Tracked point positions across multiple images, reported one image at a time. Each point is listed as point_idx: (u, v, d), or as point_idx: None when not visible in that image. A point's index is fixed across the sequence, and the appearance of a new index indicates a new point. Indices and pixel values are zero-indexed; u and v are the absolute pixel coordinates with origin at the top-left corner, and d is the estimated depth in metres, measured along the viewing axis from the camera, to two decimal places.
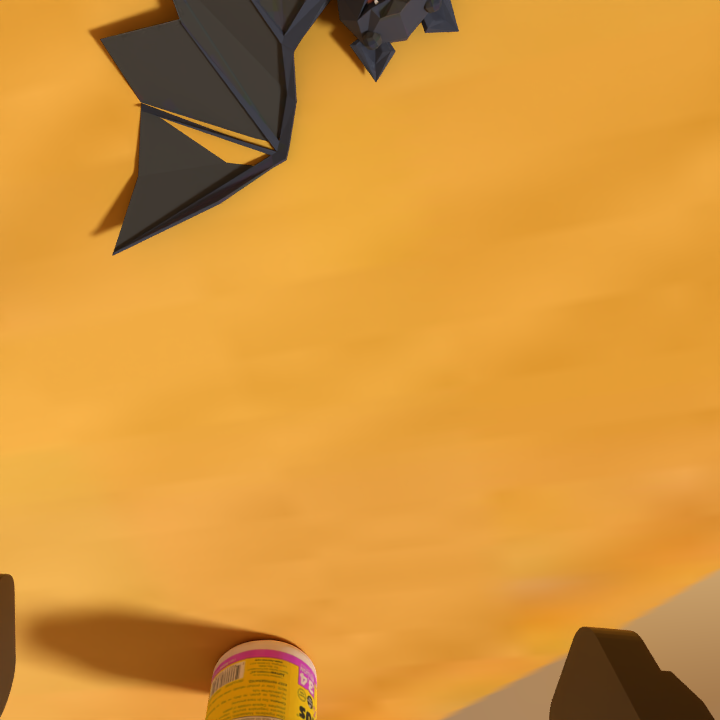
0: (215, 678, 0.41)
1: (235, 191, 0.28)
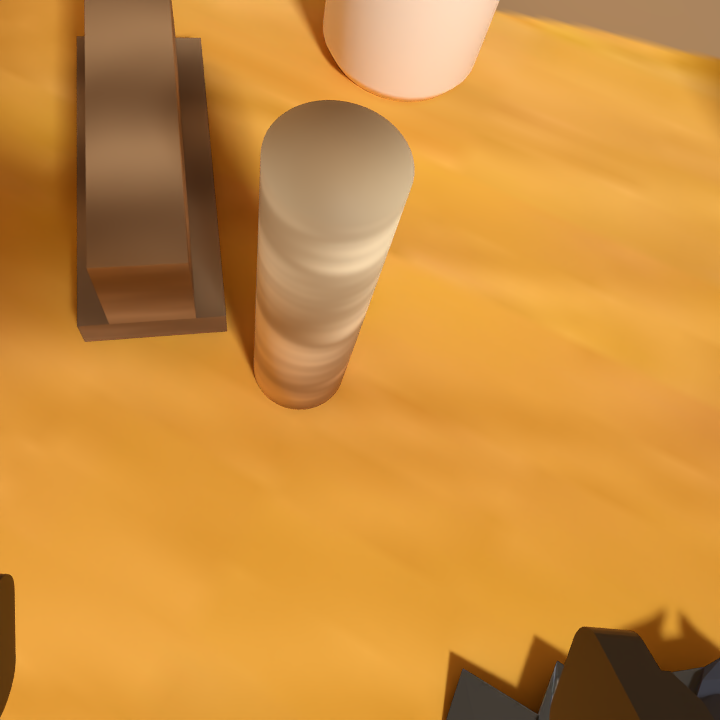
0: None
1: None
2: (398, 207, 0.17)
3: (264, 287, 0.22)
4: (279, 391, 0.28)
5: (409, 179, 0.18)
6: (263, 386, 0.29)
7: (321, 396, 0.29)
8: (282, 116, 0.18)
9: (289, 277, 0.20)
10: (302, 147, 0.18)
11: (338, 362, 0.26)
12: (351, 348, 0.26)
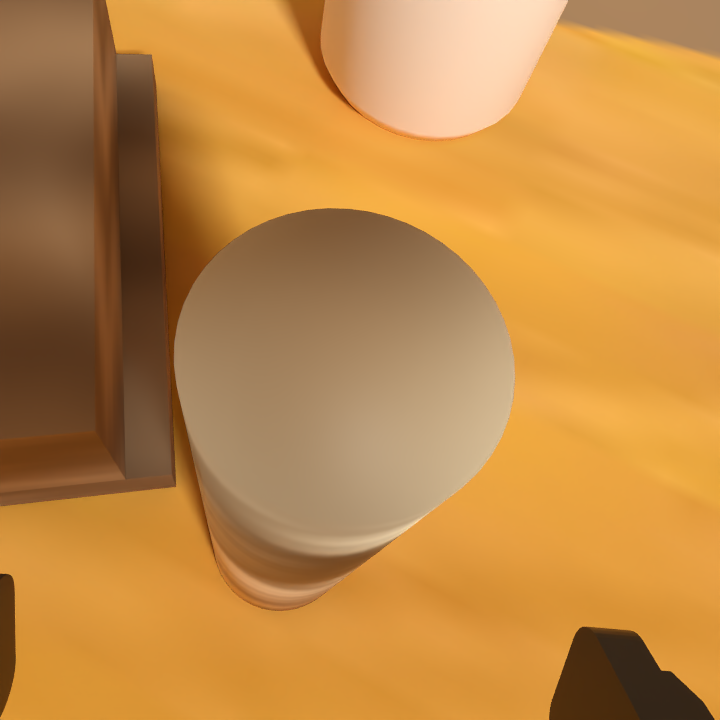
0: None
1: None
2: (484, 462, 0.08)
3: (210, 517, 0.12)
4: (249, 598, 0.18)
5: (505, 391, 0.08)
6: (226, 582, 0.19)
7: (314, 599, 0.19)
8: (230, 247, 0.08)
9: (248, 542, 0.10)
10: (269, 322, 0.08)
11: None
12: None
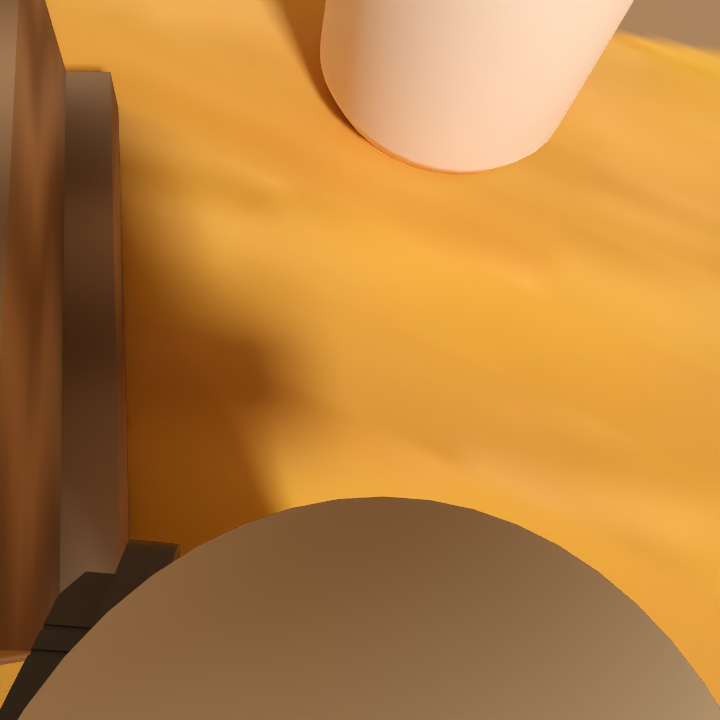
0: None
1: None
2: None
3: None
4: None
5: None
6: None
7: None
8: (100, 623, 0.03)
9: None
10: None
11: None
12: None
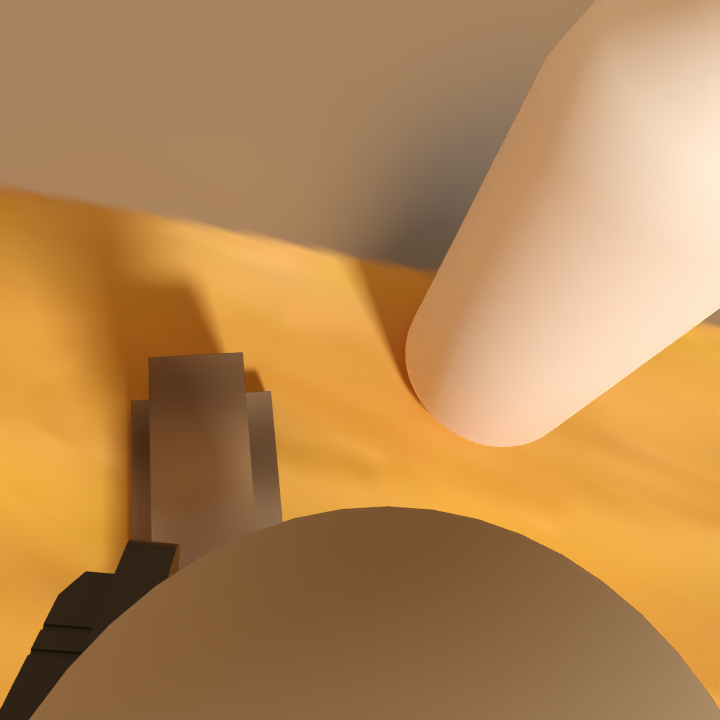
0: None
1: None
2: None
3: None
4: None
5: None
6: None
7: None
8: (103, 634, 0.03)
9: None
10: None
11: None
12: None
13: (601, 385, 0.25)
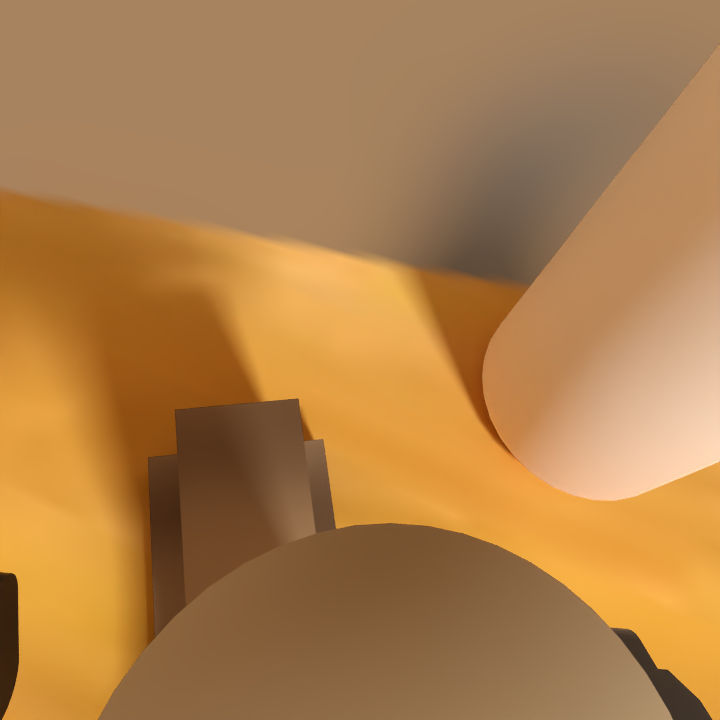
0: None
1: None
2: None
3: None
4: None
5: None
6: None
7: None
8: (168, 625, 0.04)
9: None
10: None
11: None
12: None
13: None
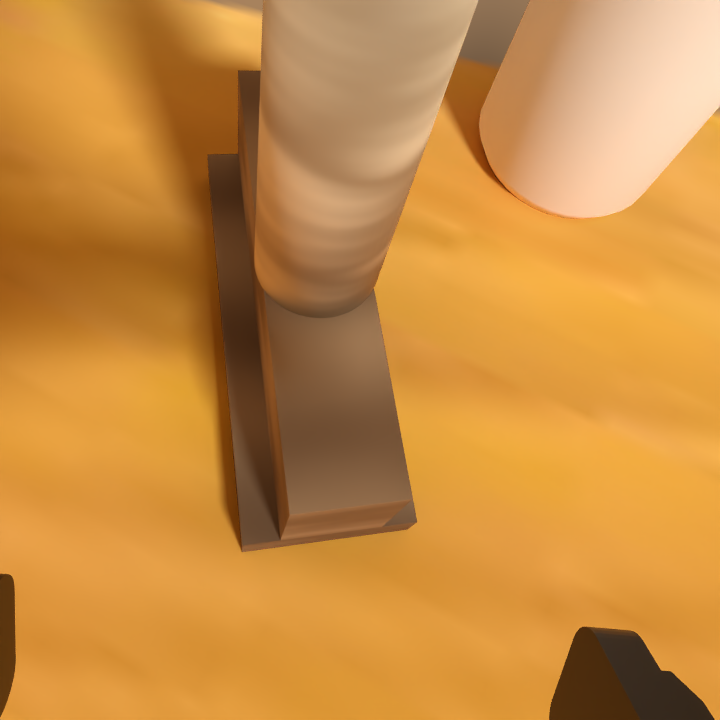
0: None
1: None
2: None
3: (274, 62, 0.13)
4: (291, 284, 0.20)
5: None
6: (268, 282, 0.20)
7: (350, 296, 0.20)
8: None
9: (319, 7, 0.11)
10: None
11: (381, 228, 0.17)
12: (400, 208, 0.17)
13: (710, 88, 0.24)
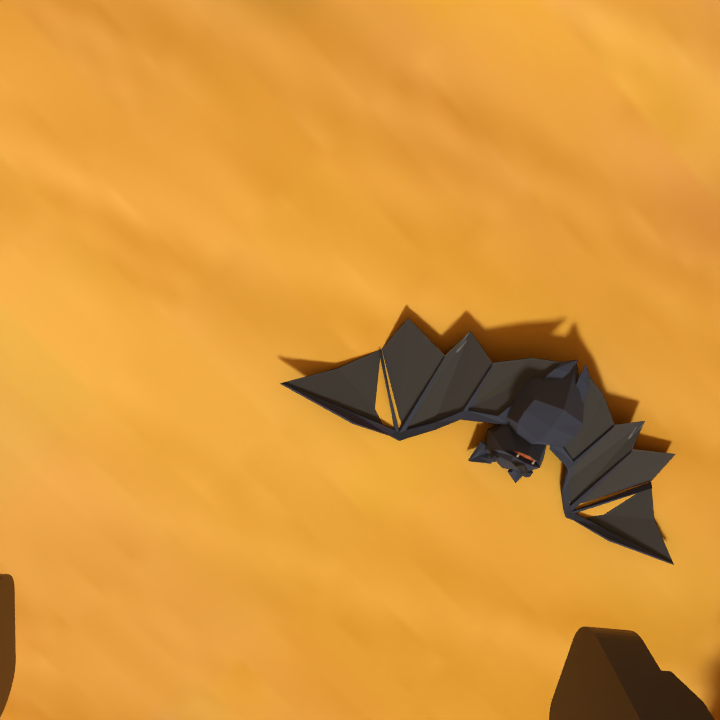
0: None
1: (365, 427, 0.41)
2: None
3: None
4: None
5: None
6: None
7: None
8: None
9: None
10: None
11: None
12: None
13: None
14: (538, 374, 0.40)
